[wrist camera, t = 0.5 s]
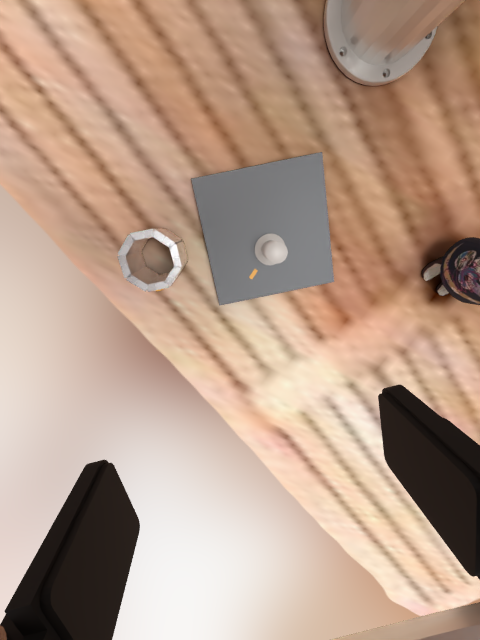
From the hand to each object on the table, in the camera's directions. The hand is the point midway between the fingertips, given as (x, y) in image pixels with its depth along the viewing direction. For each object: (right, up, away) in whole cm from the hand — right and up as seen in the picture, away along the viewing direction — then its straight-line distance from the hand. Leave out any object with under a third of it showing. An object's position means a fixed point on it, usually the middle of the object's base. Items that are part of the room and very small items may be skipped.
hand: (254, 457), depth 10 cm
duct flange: (+3, +16, +28) cm, 33 cm away
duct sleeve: (-11, +13, +28) cm, 33 cm away
